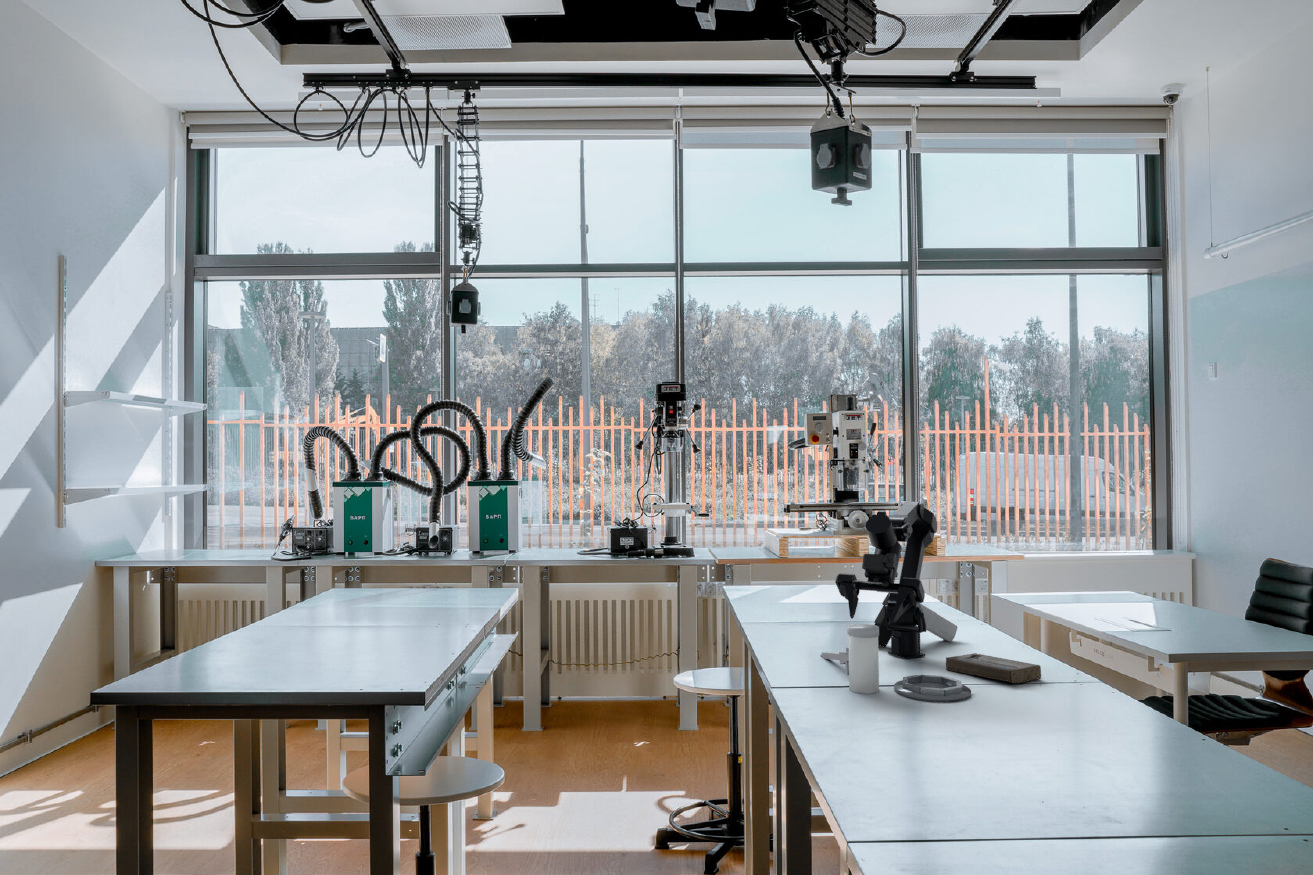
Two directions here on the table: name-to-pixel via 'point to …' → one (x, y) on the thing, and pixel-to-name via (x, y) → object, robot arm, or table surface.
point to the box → (994, 667)
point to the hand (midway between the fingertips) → (872, 619)
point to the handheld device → (933, 625)
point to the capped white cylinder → (863, 658)
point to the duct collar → (932, 688)
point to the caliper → (838, 657)
